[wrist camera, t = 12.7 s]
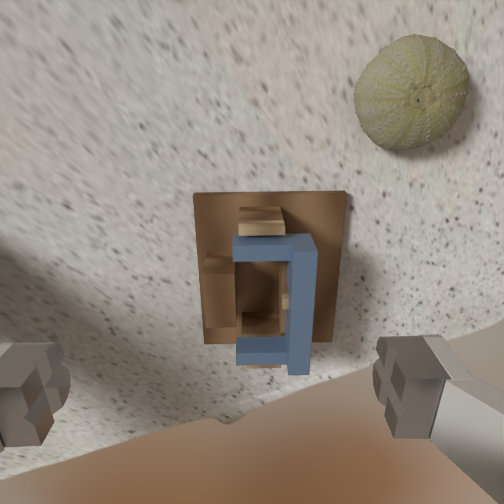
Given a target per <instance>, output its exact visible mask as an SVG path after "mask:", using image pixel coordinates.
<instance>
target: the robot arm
mask: <svg viewBox="0 0 504 504" xmlns="http://www.w3.org/2000/svg"><path fill="white" fill-rule="evenodd" d="M376 351H377V353H378V355H379V357H380V358H379V359H378V360H377V361H376V362H375V363H374V365H373V385H374V390H375V393H376V396H377V398H378V401H379V402H381V403H382V404H383V405H384V406H386V408H385V414H384V416H385V418H386V421H387V423H388V426H389V428H390V430H391V433H392V435H393V438H408V439H409V438H410V439H412V438H413V439H418V438H419V439H430V441H431V442H432V443H433V444H434V445H435V446H436V447H437V448H438V449H440V450H441V451H442V452H443V453H444V454H445V455H446V456H447V457H448V458H449V459H450V460H451V461H453V462H454V463H455V464H456V465H457V466H458V467H459V468H460V469H461V470H462V471H463V472H464V473H466V474H467V475H468V476H469V477H470V478H471V479H472V480H473V481H474V482H475V483H476V484H478V485H479V486H480V487H481V488H482V489H483V490H484V491H485V492H486V493H487V494H488V495H490V496H491V497H492V498H493V499H494V500H495V501H496V502H497V503H498V504H504V392H503V391H502V390H500V389H498V388H497V387H495V386H493V385H491V384H489V383H487V382H486V381H484V380H482V379H475V378H474V377H473V375H472V374H471V373H470V372H469V370H468V369H467V368H466V366H464V364H463V362H462V361H461V360H460V358H459V357H458V356H457V355H456V353H455V352H454V351H453V349H452V348H451V347H450V345H449V344H448V343H447V341H446V340H445V339H444V338H443V337H442V336H441V335H439V334H435V335H419V336H391V337H379V339H378V341H377V346H376ZM63 356H64V353H63V350H62V347H61V345H60V344H58V343H56V342H17V343H15V342H0V453H1V452H2V451H3V450H4V447H22V446H41V445H42V443H43V441H44V440H45V438H46V436H47V434H48V432H49V431H50V429H51V427H52V425H53V423H54V419H53V416H52V414H54V413H55V412H56V411H58V410H59V409H60V408H62V407H63V405H64V403H65V401H66V399H67V398H68V393H69V389H70V375H69V371H68V369H67V368H66V367H65V366H64V365H63V364H62V363H60V361H61V360H62V358H63Z"/></svg>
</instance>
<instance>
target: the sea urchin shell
mask: <svg viewBox="0 0 504 504" xmlns="http://www.w3.org/2000/svg"><path fill="white" fill-rule="evenodd" d="M468 78H469V74H468V71H467V68H466V64H465V63H464V62H463V61H462V59H461V58H460V57H459V56H458V54H457V53H456V51H455V50H454V49H452V48H450V47H448V46H447V45H445V44H444V43H442V41H439V40H438V39H436V37H435V38H433V37H427V36H422V35H416V34H414V35H410V36H406V37H405V36H404V37H402V38H400V39H398V40H396V41H395V42H393V43H392V44H390V45H388V46H387V47H385V48H384V49H383V50H382V51H381V52H380V53H379V54H378V55H377V56H376V57H375V58H374V59H373V60H372V61H371V62H370V63H369V64H367V67H366V68H365V70H364V71H363V73H362V75H361V76H360V78H359V79H358V81H357V84H356V87H355V92H354V100H355V109H356V112H355V113H356V114H357V117H358V119H359V121H360V123H361V127H362V129H363V131H364V132H365V133H366V134H367V136H368V137H369V138H370V139H371V140H372V141H373V142H374V143H375V144H376V145H378V146H380V147H383V148H384V149H401V150H405V149H409V148H413V147H416V146H417V147H419V146H422V145H425V144H426V143H429V142H431V141H433V140H435V139H437V138H439V137H440V138H441V137H442V136H443V135H444V134H445V133H446V132H447V131H448V130H450V129H451V127H452V125H453V124H454V123H455V121H456V119H457V118H458V117H459V116H460V115H461V111H462V108H463V104H464V101H465V99H466V95H467V93H468V92H467V86H468Z"/></svg>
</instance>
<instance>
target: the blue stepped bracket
mask: <svg viewBox="0 0 504 504" xmlns="http://www.w3.org/2000/svg"><path fill="white" fill-rule="evenodd" d="M232 250H233V262H244V261H287V286H288V291H289V302H288V309H286V317H285V336H282V337H237V340H236V365H284V364H287V369H288V375H309V371H310V357H311V343H312V329H313V314H314V300H315V286H316V272H317V258H318V251H317V249H316V246H315V244H314V241H313V239H312V236H311V234H310V233H302V234H285V235H258V236H239V234H235V235H233V244H232Z"/></svg>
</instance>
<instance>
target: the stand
mask: <svg viewBox="0 0 504 504" xmlns="http://www.w3.org/2000/svg"><path fill="white" fill-rule="evenodd" d="M346 195H347V193H346V192H345V191H287V192H213V193H194V194H193V204H194V216H195V229H196V242H197V255H198V268H199V281H200V294H201V306H202V319H203V332H204V344H236V340H237V337H282V336H285V317H286V309H288V302H289V291H288V286H287V261H244V262H233V250H232V244H233V235H235V234H239V236H258V235H285V234H302V233H310V234H311V236H312V239H313V241H314V244H315V246H316V249H317V251H318V258H317V272H316V286H315V300H314V314H313V329H312V342H332V336H333V326H334V316H335V306H336V296H337V286H338V276H339V266H340V256H341V246H342V235H343V225H344V215H345V205H346ZM242 368H281V365H242Z"/></svg>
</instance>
